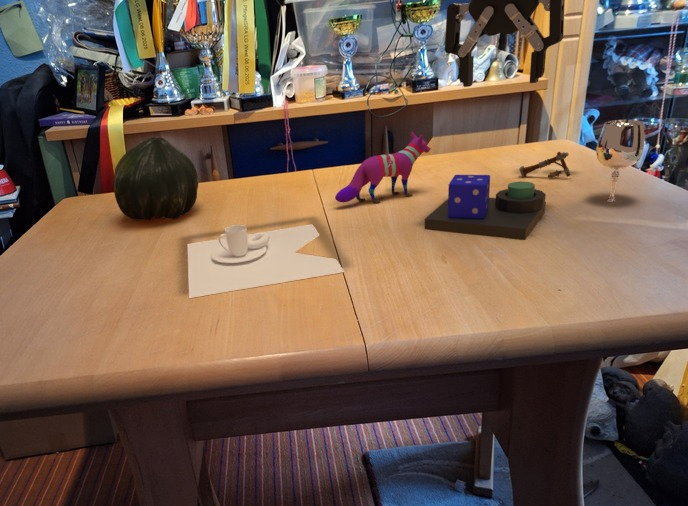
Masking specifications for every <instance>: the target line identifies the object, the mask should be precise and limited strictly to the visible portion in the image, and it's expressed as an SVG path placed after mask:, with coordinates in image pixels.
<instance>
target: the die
mask: <svg viewBox="0 0 688 506" xmlns="http://www.w3.org/2000/svg"><path fill="white" fill-rule="evenodd" d="M490 187H491V175H490V174H455V175H454V176H453V177H452V179H451V180H450V182H449V184H448V190H447V191H448V194H447V195H448V196H447V199H448V217H449V218H469V219H484V217H485V215H486V212H487V210H488V206H489V198H490V189H491V188H490Z"/></svg>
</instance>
